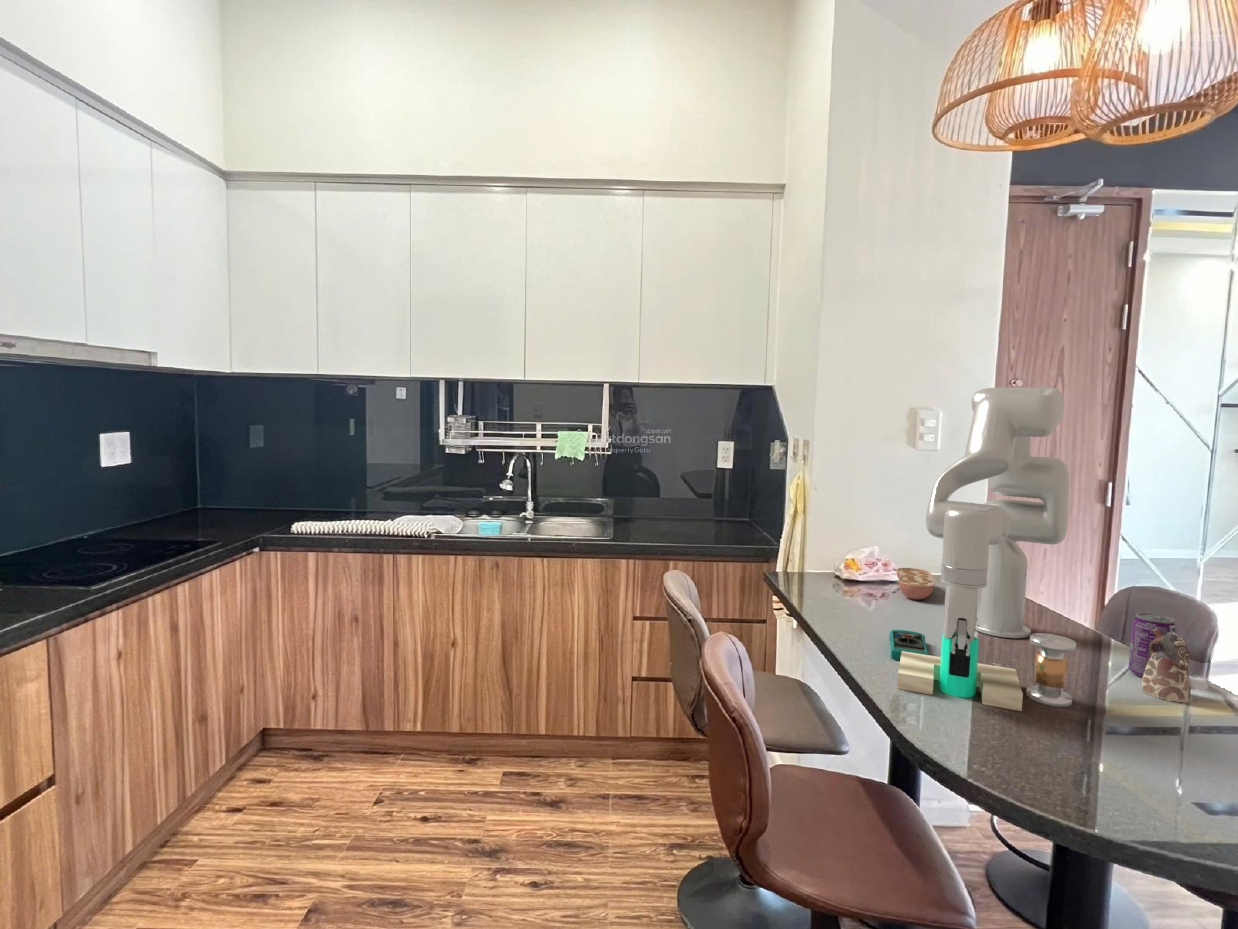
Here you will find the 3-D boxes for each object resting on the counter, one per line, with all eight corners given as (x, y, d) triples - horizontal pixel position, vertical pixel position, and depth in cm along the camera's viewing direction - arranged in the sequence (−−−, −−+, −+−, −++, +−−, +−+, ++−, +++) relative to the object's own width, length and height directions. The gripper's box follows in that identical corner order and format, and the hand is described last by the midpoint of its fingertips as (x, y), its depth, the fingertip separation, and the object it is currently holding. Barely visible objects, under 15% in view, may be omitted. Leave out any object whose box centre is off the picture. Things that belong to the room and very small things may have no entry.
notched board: (901, 665, 136) (901, 651, 136) (1014, 684, 127) (1015, 669, 127) (897, 688, 124) (897, 672, 124) (1021, 711, 115) (1022, 694, 115)
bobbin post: (1024, 688, 126) (1028, 631, 125) (1068, 695, 122) (1072, 637, 122) (1028, 702, 119) (1032, 642, 118) (1075, 710, 116) (1079, 649, 115)
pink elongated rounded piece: (895, 582, 206) (895, 566, 205) (930, 586, 202) (931, 569, 202) (898, 601, 184) (899, 583, 184) (937, 605, 181) (938, 587, 180)
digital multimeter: (924, 644, 150) (924, 631, 150) (929, 667, 136) (929, 653, 136) (889, 640, 153) (889, 627, 153) (890, 661, 139) (891, 648, 139)
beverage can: (1163, 672, 135) (1168, 614, 134) (1180, 685, 128) (1185, 624, 127) (1122, 667, 137) (1127, 610, 136) (1136, 680, 131) (1141, 620, 130)
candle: (973, 700, 119) (977, 635, 118) (937, 692, 123) (940, 629, 122) (976, 689, 124) (980, 626, 124) (941, 681, 128) (944, 620, 127)
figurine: (1176, 705, 119) (1182, 640, 118) (1132, 690, 126) (1138, 628, 125) (1199, 699, 122) (1205, 635, 121) (1155, 684, 129) (1160, 623, 128)
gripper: (941, 564, 131) (936, 648, 132) (940, 583, 116) (935, 679, 117) (984, 568, 128) (978, 655, 129) (990, 589, 112) (983, 687, 114)
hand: (958, 666), depth 123 cm, fingers open, 9 cm apart
